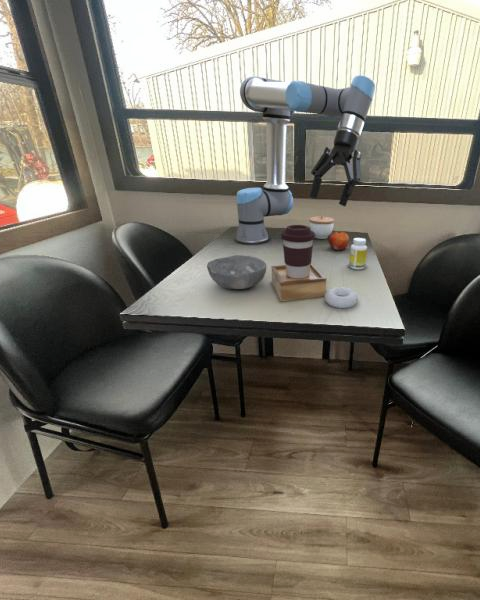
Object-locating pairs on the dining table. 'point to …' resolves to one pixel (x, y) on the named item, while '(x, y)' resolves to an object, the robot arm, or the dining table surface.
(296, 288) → the wooden box
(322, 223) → the lidded bowl
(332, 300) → the donut
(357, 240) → the pill bottle
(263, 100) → the robot arm
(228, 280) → the bowl
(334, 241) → the tomato
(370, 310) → the dining table surface
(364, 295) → the dining table surface
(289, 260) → the coffee cup
